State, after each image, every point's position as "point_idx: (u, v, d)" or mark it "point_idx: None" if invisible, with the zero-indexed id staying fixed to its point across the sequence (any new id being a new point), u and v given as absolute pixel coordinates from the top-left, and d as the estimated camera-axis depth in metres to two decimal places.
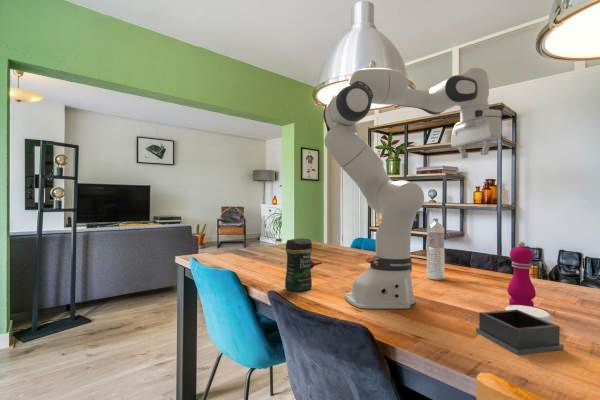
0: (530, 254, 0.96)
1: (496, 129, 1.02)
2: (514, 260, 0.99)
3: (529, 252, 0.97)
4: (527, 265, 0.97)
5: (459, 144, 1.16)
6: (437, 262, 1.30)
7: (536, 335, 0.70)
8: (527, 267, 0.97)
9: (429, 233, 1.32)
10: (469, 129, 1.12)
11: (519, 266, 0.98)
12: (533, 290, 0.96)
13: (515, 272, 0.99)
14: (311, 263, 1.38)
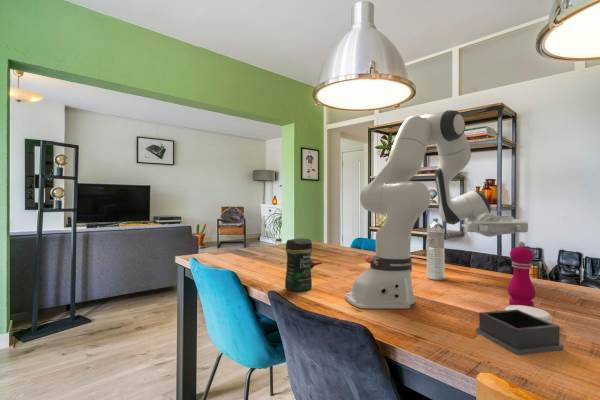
0: (530, 254, 0.96)
1: None
2: (514, 260, 0.99)
3: (529, 252, 0.97)
4: (527, 265, 0.97)
5: (482, 222, 1.17)
6: (437, 262, 1.30)
7: (536, 335, 0.70)
8: (527, 267, 0.97)
9: (429, 233, 1.32)
10: (491, 222, 1.20)
11: (519, 266, 0.98)
12: (533, 290, 0.96)
13: (515, 272, 0.99)
14: (311, 263, 1.38)
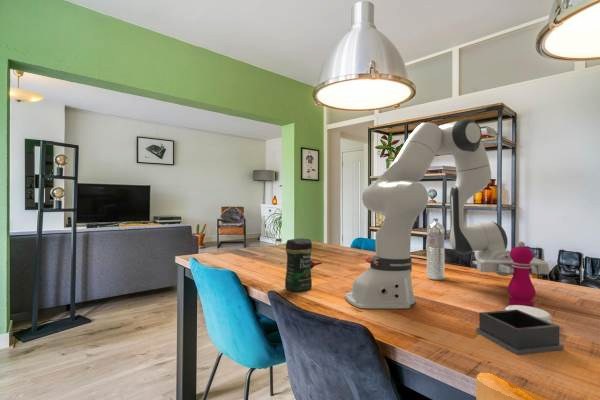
0: (530, 254, 0.96)
1: None
2: (514, 260, 0.99)
3: (529, 252, 0.97)
4: (527, 265, 0.97)
5: (497, 261, 1.04)
6: (437, 262, 1.30)
7: (536, 335, 0.70)
8: (527, 267, 0.97)
9: (429, 233, 1.32)
10: (506, 260, 1.08)
11: (519, 266, 0.98)
12: (533, 290, 0.96)
13: (515, 272, 0.99)
14: (311, 263, 1.38)
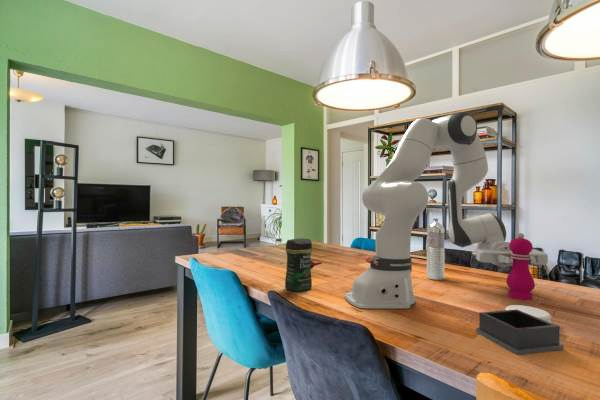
0: (529, 246, 0.96)
1: None
2: (513, 251, 0.99)
3: (528, 243, 0.97)
4: (526, 256, 0.97)
5: (496, 252, 1.04)
6: (437, 262, 1.30)
7: (536, 335, 0.70)
8: (526, 258, 0.97)
9: (429, 233, 1.32)
10: (506, 251, 1.08)
11: (518, 257, 0.98)
12: (532, 281, 0.96)
13: (514, 263, 0.99)
14: (311, 263, 1.38)
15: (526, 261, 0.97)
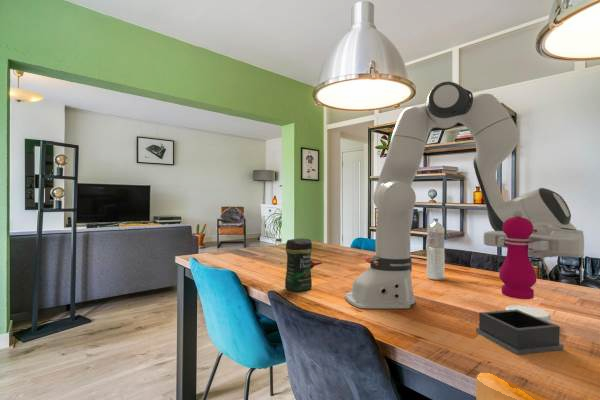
0: (517, 226, 0.73)
1: (581, 246, 0.71)
2: None
3: (517, 223, 0.73)
4: (515, 240, 0.73)
5: (502, 233, 0.82)
6: (437, 262, 1.30)
7: (536, 335, 0.70)
8: (515, 243, 0.73)
9: (429, 233, 1.32)
10: (531, 234, 0.80)
11: (507, 241, 0.75)
12: (522, 274, 0.72)
13: None
14: (311, 263, 1.38)
15: (517, 247, 0.74)
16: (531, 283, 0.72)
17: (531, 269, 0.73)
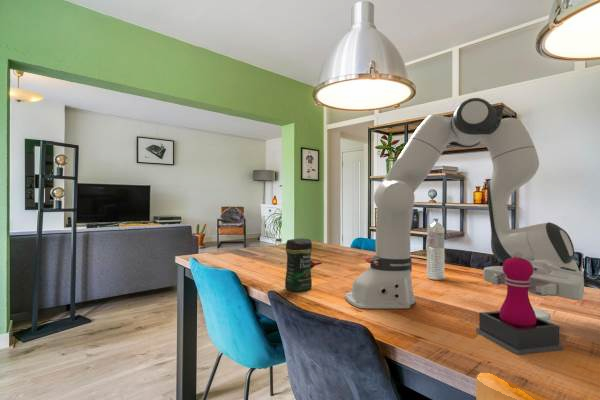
0: (517, 268, 0.73)
1: (581, 289, 0.71)
2: None
3: (517, 265, 0.73)
4: (515, 282, 0.74)
5: (502, 271, 0.82)
6: (437, 262, 1.30)
7: (536, 335, 0.70)
8: (515, 284, 0.74)
9: (429, 233, 1.32)
10: None
11: (507, 282, 0.75)
12: (522, 316, 0.72)
13: None
14: (311, 263, 1.38)
15: (517, 288, 0.74)
16: (531, 325, 0.72)
17: (531, 311, 0.73)
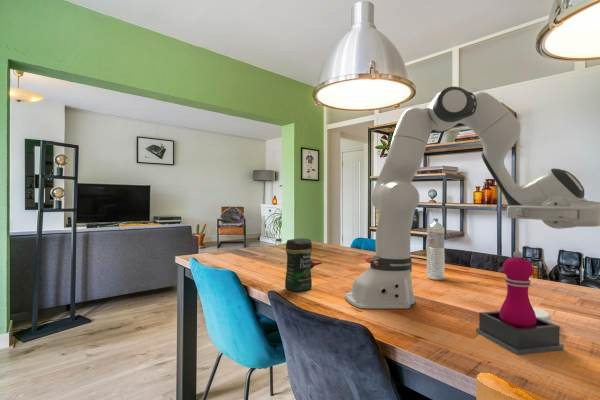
0: (517, 268, 0.73)
1: None
2: None
3: (517, 265, 0.73)
4: (515, 282, 0.74)
5: (525, 206, 0.89)
6: (437, 262, 1.30)
7: (536, 335, 0.70)
8: (515, 284, 0.74)
9: (429, 233, 1.32)
10: (552, 207, 0.87)
11: (507, 282, 0.75)
12: (522, 316, 0.72)
13: None
14: (311, 263, 1.38)
15: (517, 288, 0.74)
16: (531, 325, 0.72)
17: (531, 311, 0.73)
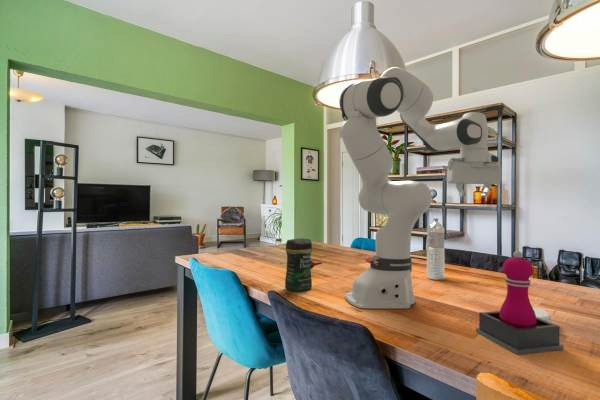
0: (517, 268, 0.73)
1: None
2: None
3: (517, 265, 0.73)
4: (515, 282, 0.74)
5: (464, 182, 1.14)
6: (437, 262, 1.30)
7: (536, 335, 0.70)
8: (515, 284, 0.74)
9: (429, 233, 1.32)
10: (475, 169, 1.15)
11: (507, 282, 0.75)
12: (522, 316, 0.72)
13: None
14: (311, 263, 1.38)
15: (517, 288, 0.74)
16: (531, 325, 0.72)
17: (531, 311, 0.73)
